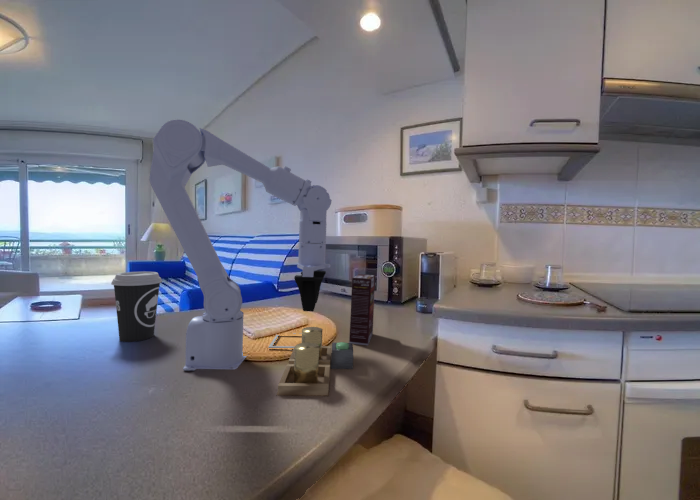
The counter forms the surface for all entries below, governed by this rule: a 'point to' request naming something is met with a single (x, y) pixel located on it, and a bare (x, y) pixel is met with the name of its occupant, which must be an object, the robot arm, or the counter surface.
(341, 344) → the button
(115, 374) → the counter surface
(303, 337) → the seated billet
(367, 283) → the supplement box
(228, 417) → the counter surface
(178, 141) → the robot arm
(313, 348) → the cylinder
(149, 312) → the coffee cup
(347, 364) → the button pedestal
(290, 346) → the grey square frame
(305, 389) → the holder tray
